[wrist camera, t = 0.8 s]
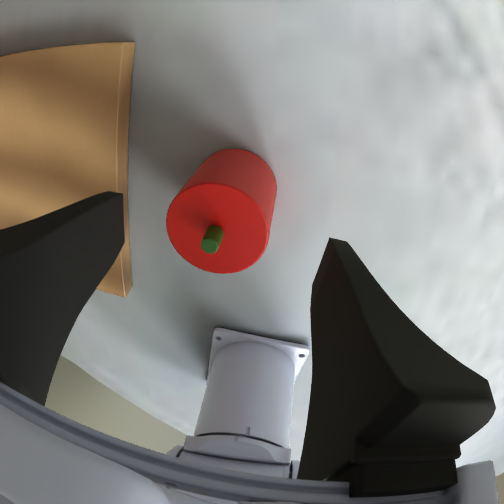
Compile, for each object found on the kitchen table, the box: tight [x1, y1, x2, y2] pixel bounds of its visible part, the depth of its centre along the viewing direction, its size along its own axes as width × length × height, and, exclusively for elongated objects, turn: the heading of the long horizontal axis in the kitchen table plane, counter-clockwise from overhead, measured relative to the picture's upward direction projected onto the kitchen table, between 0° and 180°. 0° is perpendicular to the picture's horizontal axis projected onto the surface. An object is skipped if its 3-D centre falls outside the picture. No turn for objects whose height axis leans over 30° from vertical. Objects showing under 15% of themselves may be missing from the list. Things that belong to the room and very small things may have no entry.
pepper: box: [166, 149, 277, 274], centre depth 16 cm, size 5×5×6 cm
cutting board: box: [0, 42, 135, 297], centre depth 19 cm, size 18×14×2 cm
